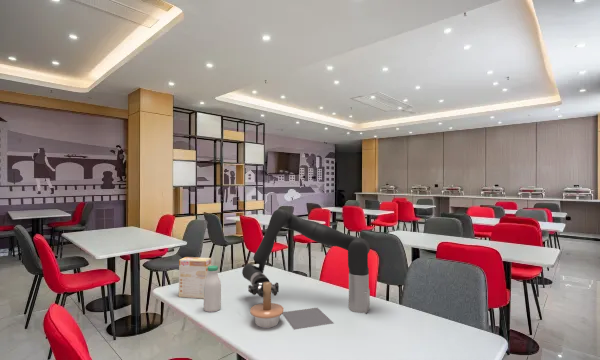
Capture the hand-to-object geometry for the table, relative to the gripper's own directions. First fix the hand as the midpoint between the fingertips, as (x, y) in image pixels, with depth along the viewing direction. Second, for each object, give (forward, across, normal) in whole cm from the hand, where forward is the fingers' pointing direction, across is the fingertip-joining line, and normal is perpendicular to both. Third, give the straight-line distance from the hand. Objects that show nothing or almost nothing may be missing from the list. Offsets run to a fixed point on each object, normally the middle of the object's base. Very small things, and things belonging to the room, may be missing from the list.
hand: (268, 294), depth 134 cm
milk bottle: (-26, -20, +14) cm, 36 cm away
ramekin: (-3, 0, +14) cm, 14 cm away
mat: (-2, +18, +13) cm, 22 cm away
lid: (-3, 0, +8) cm, 9 cm away
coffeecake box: (-47, -28, +14) cm, 56 cm away
